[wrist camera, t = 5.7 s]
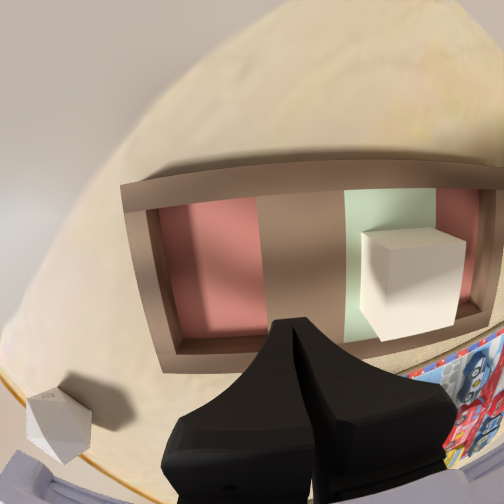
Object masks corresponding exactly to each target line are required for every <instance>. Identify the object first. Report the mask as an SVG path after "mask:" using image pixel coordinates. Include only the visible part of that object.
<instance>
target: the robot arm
mask: <svg viewBox="0 0 504 504" xmlns="http://www.w3.org/2000/svg"><path fill="white" fill-rule="evenodd" d="M457 416H458V409H457V407H456V405H455V404H454V402H453V401H452V399H451V398H450V396H449V395H448V393H447V392H446V391H445V390H444V388H443V387H442V386H441V385H440V384H438V383H431V382H425V381H419V380H414V379H409V378H406V377H402V376H399V375H395V374H392V373H389V372H386V371H384V370H381V369H379V368H377V367H374V366H372V365H370V364H368V363H365V362H363V361H362V360H360V359H358V358H356V357H354V356H353V355H351V354H349V353H348V352H346V351H345V350H343V349H342V348H341V347H339V346H338V345H336V344H335V343H334V342H333V341H331V340H330V339H329V338H328V337H327V336H326V335H324V334H323V333H322V332H321V331H320V330H319V329H318V328H317V327H316V326H315V325H314V324H313V323H312V322H311V321H310V320H309V319H308V318H307V317H297V318H287V319H276V320H273V321H272V323H271V328H270V330H269V333H268V335H267V338H266V340H265V341H264V343H263V345H262V347H261V349H260V351H259V352H258V354H257V355H256V357H255V358H254V360H253V361H252V362H251V364H250V365H249V366H248V368H247V369H246V370H245V371H244V372H243V374H242V375H241V376H240V377H239V378H238V379H237V380H236V381H235V382H234V383H233V384H232V385H231V386H230V387H228V388H227V389H226V390H225V391H224V392H222V393H221V394H220V395H218V396H217V397H216V398H214V399H213V400H211V401H210V402H208V403H207V404H205V405H203V406H202V407H200V408H198V409H196V410H194V411H192V412H190V413H189V414H187V415H185V416H183V417H180V418H179V419H178V421H177V423H176V425H175V427H174V429H173V431H172V433H171V435H170V437H169V439H168V442H167V445H166V448H165V451H164V455H163V458H162V462H161V469H162V471H163V474H164V475H165V477H166V478H167V480H168V481H169V482H170V484H171V485H172V487H173V488H174V489H175V491H176V492H177V493H178V495H179V497H178V501H177V504H307V501H308V497H309V494H310V487H311V479H312V487H313V499H314V504H504V443H503V444H501V445H500V446H498V447H497V448H495V449H494V450H492V451H490V452H488V453H487V454H485V455H483V456H482V457H480V458H478V459H477V460H475V461H473V462H471V463H469V464H467V465H465V466H463V467H461V468H459V469H448V468H447V466H446V464H445V462H444V459H445V458H446V452H445V450H444V448H443V444H444V443H445V441H446V439H447V437H448V436H449V434H450V432H451V430H452V428H453V427H454V424H455V422H456V419H457ZM0 503H1V504H133V503H129V502H125V501H122V500H118V499H115V498H112V497H108V496H105V495H102V494H99V493H96V492H93V491H90V490H88V489H85V488H82V487H79V486H77V485H75V484H72V483H70V482H67V481H65V480H63V479H60V478H58V477H56V476H54V475H53V473H52V472H51V471H50V470H49V469H48V468H47V467H46V466H45V465H44V464H43V463H41V462H40V461H39V460H37V459H36V458H34V457H32V456H30V455H28V454H26V453H24V452H22V451H20V450H17V451H16V452H15V453H14V455H13V456H12V458H11V459H10V461H9V462H8V464H7V465H6V467H5V468H4V470H3V471H2V473H1V474H0Z"/></svg>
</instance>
